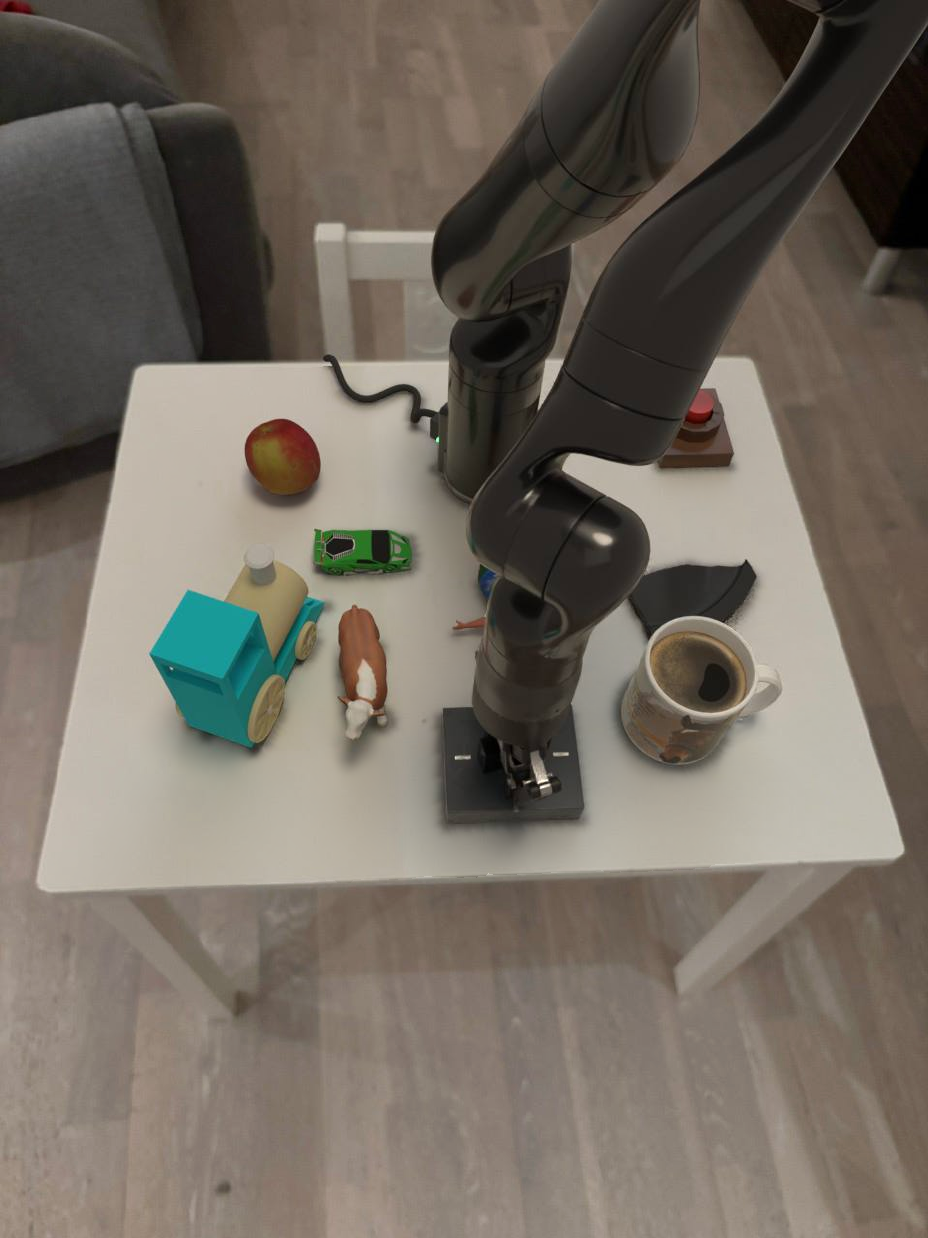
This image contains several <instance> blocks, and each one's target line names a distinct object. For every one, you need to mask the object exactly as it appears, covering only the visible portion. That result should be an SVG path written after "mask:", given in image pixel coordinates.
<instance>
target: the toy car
mask: <svg viewBox="0 0 928 1238" xmlns="http://www.w3.org/2000/svg"><path fill="white" fill-rule="evenodd" d="M313 531H314V541H313V553H314V554H313V555H314V561H313V562H312V563H313V565H315V566H321V569H322V570H323V571H324V572H326V573H327V574H331V575H333V576H334V575H335V576H337V575H341V574H342V575H343V576H350V575H357V574H359V573H367V574H370V575H376V574H377V575H378V574H379V575H380V574H383V573H384V572H386V573H394V572H401V571H406V570H410V569H411V565H412V562H411V558H412V555H413V553H412V551H413V550H412V546H411V544H410V538H407V537H406V536H405V535H402V534H399V533H397V532H396V531H393V530H389V529H353V530H352V529H351V530H348V529H347V530H345V529H331V530H325V531H323V530H322V529H321V528H314V529H313Z"/></svg>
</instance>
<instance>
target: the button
mask: <svg viewBox="0 0 928 1238" xmlns="http://www.w3.org/2000/svg"><path fill="white" fill-rule="evenodd" d="M713 406H714V401H713V398H712V397H711V396H710V395H709V394H708V393H706V392H704V391H702V390H699V392H698V394H697V396H696V398H695V400H694V402H693V404H692V406H691V408H690V410H689V412H688V414H687V415H686V417H685V421H688V422H690V423H693V424H701V423H704V422H706V421H707V420H708V419H709V417H710V414H711V412H712V409H713Z"/></svg>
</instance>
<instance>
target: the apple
mask: <svg viewBox="0 0 928 1238" xmlns="http://www.w3.org/2000/svg"><path fill="white" fill-rule="evenodd" d="M243 451H244V459H245V463H246V466H247V469H248V471H249V473H250V474H251V475H252V477H253V478H254V479H255V481H256V482H257V483H258V484H259V485H260V486H261V487H262V488H263V489H266V490H267V491H268V492H270V493H272V494H275V495H281V496H282V495H283V496H285V495H295V494H299V493H302V492H304V491H306V490H308V489H309V488H311V487H312V486H313V485H314V484H315V483H316V481H318V479H319V477H320V475H321V469H322V462H321V456H320V451H319V449H318V446H317V444H316V442H315V440H314V438H313V437H312V435H310V434H309V432H308V431H307V430H306V429H305V428H303V427H302V426H301V425H300V424H298V423H297V422H295V421H293V420H291V419H288V418H274V419H271V420H268V421H266V422H262V423H260V424H259V425H257V426H256V427H254V428H253V429H252V430H251V432H250V433H249V434H248V436H247V437H246V440H245V443H244V450H243Z"/></svg>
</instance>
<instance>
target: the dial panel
mask: <svg viewBox="0 0 928 1238" xmlns="http://www.w3.org/2000/svg"><path fill="white" fill-rule="evenodd" d="M441 716H442V717H441V725H442V726H441V727H442V729H441V730H442V751H443V773H444V774H443V775H444V798H445V800H444V801H445V821H446V822H445V823H446V824H466V823H467V824H468V823H495V822H519V821H520V822H521V821H547V820H549V821H550V820H572V819H573V820H574V819H575V820H576V819H580V818H581V816H582V813H583V811H584V810H585V802H584V793H583V784H582V783H583V782H582V777H581V776H582V775H581V768H580V759H579V752H578V742H577V736H576V735H577V734H576V726H575V719H574V718H575V717H574V709H573V704H572V703H571V706H570V709H569V712H568V715H567V718H566V720H565V722H564V724H563V726H562V727H561V728H560V730H559V731H558V732H557V733H556V734H555V735H554V736H553V737H552V741H551V744H550V747H549V750H548V753H547V757H546V758H545V761H544V763H543V764H544V767H545V770H546V773H550V772H551V773H552V774H553V777H554V776H557V777H558V779H559V780H560V782H561V791H560V792H558V793H556V794H554V795H552V796H550V797H548V798H545V799H541V800H538V801H535V802H532V803H528V804H525V805H522V806H519V805H518V803H517V802H516V800H515V801H512V798H506V796H505V794H504V791H503V790H504V785H505V781H506V777H507V773H506V772H505V769H504V768H503V769H499V770H496V771H492V772H489V773H485V774H483V772H482V769H481V766H480V763H479V760H478V757H477V754H478V747H479V740H480V738H484V733H485V729H484V728H483V727H482V726H481V724H480V723H479V721H478V720H477V718H476V716H475V713H474V710H473V706H460V707H459V706H457V707H443V708H442V715H441ZM527 769H529V768H527ZM524 770H526V769H524ZM521 771H522V770H521Z"/></svg>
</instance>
